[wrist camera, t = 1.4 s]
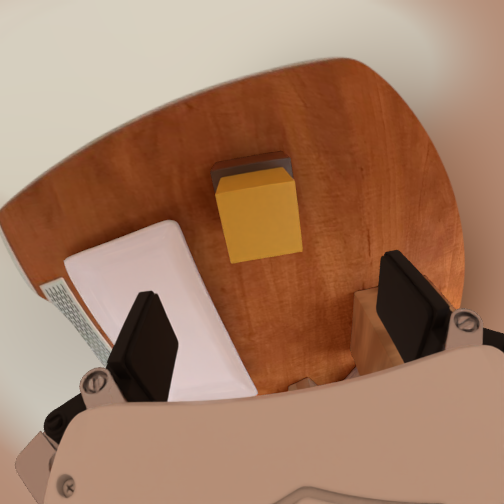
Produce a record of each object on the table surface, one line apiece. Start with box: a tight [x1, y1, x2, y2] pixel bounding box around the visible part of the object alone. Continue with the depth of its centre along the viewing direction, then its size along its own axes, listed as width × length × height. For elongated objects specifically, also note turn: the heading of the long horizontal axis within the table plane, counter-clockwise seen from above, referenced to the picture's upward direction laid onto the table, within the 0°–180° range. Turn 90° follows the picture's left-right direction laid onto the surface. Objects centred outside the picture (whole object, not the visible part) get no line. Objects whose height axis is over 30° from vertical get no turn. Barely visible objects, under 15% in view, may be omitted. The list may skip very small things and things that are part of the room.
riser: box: [350, 275, 456, 376], centre depth 30 cm, size 12×12×19 cm
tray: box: [64, 220, 258, 402], centre depth 36 cm, size 17×32×4 cm, turn 16°
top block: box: [215, 167, 303, 263], centre depth 22 cm, size 6×6×6 cm
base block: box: [210, 151, 293, 194], centre depth 27 cm, size 7×7×5 cm
